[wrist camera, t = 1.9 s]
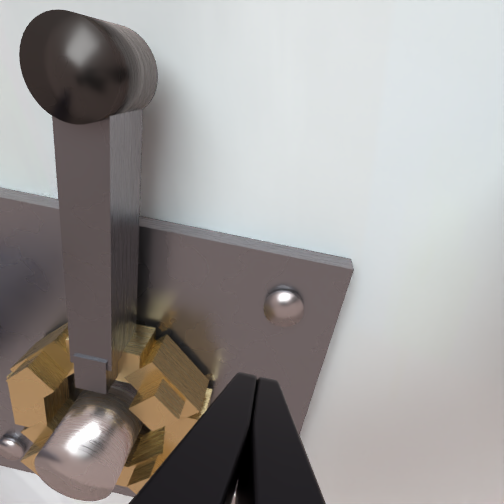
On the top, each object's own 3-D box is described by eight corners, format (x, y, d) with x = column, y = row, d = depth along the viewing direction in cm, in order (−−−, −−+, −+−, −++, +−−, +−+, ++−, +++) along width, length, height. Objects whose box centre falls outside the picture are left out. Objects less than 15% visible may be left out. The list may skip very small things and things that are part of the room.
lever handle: (266, 52, 12) (253, 44, 9) (199, 468, 22) (182, 532, 19) (-12, 1, 13) (-115, -23, 10) (44, 431, 23) (2, 488, 20)
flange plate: (350, 259, 17) (373, 346, 11) (269, 513, 25) (260, 630, 20) (-70, 173, 17) (-236, 217, 12) (-7, 447, 26) (-87, 543, 21)
